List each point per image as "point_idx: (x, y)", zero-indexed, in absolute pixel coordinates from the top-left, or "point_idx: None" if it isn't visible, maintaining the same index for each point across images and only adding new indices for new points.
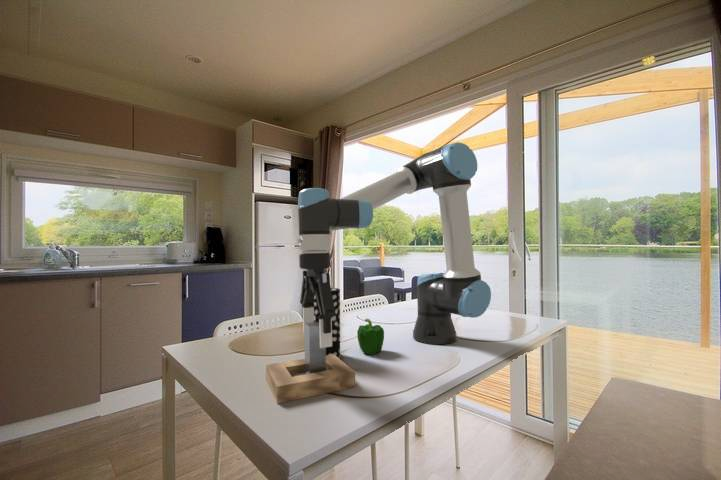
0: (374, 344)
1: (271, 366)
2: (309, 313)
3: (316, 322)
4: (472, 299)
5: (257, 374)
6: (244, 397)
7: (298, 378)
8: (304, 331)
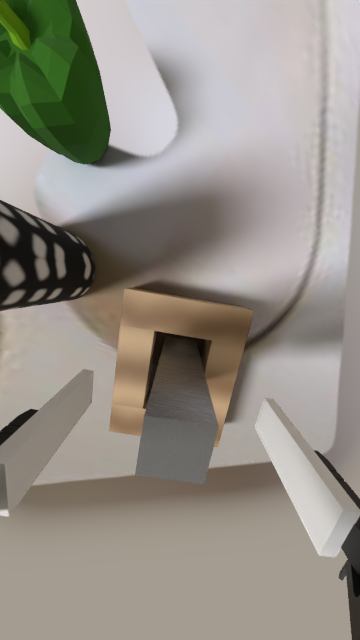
0: (104, 118)
1: (123, 426)
2: (37, 450)
3: (154, 437)
4: None
5: (89, 415)
6: None
7: None
8: (87, 406)
